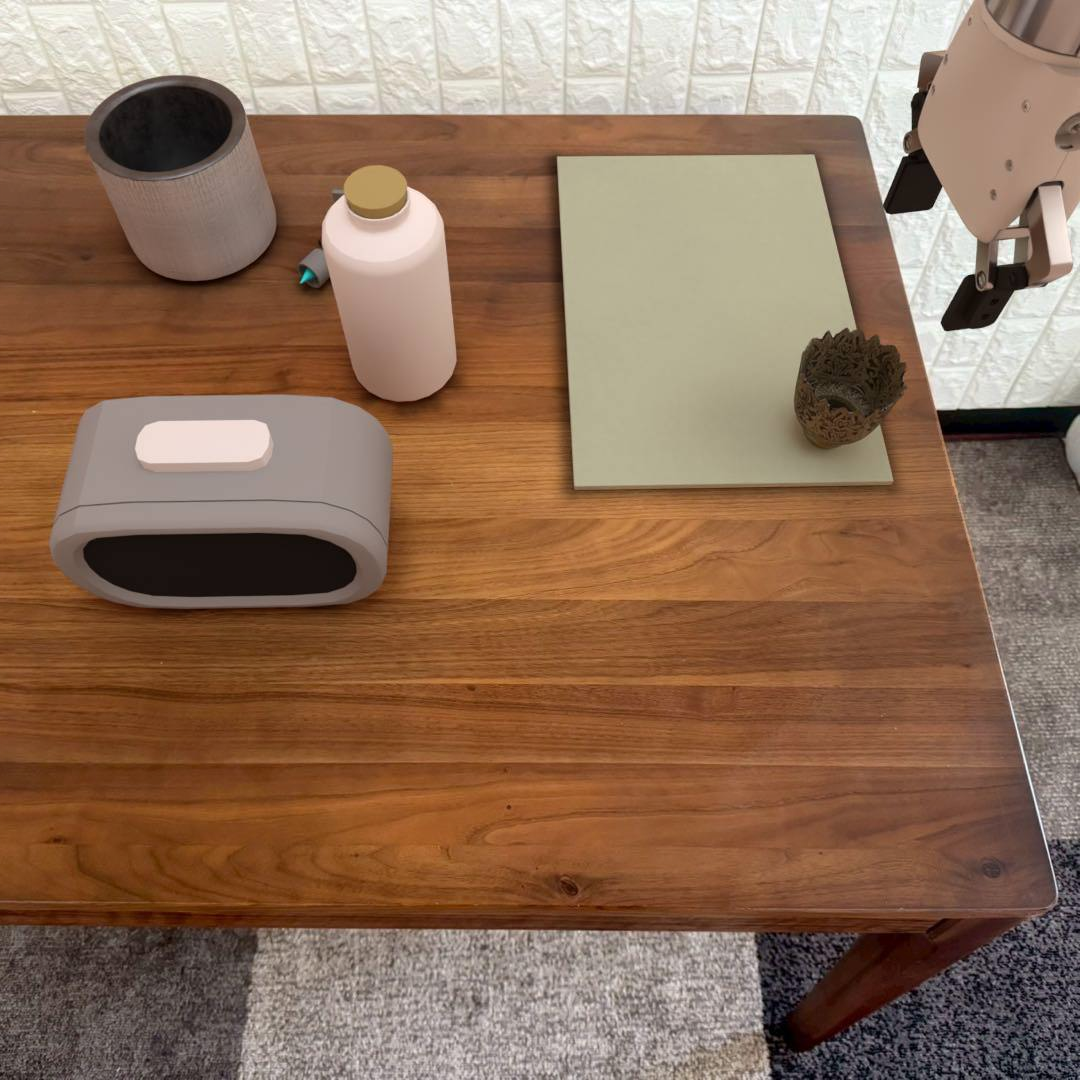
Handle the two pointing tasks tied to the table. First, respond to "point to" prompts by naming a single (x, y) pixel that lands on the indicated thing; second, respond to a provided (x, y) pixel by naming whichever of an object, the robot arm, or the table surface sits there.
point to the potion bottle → (391, 284)
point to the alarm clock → (226, 502)
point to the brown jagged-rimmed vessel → (846, 387)
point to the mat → (699, 321)
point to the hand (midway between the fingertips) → (935, 264)
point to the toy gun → (316, 260)
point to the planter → (183, 176)
